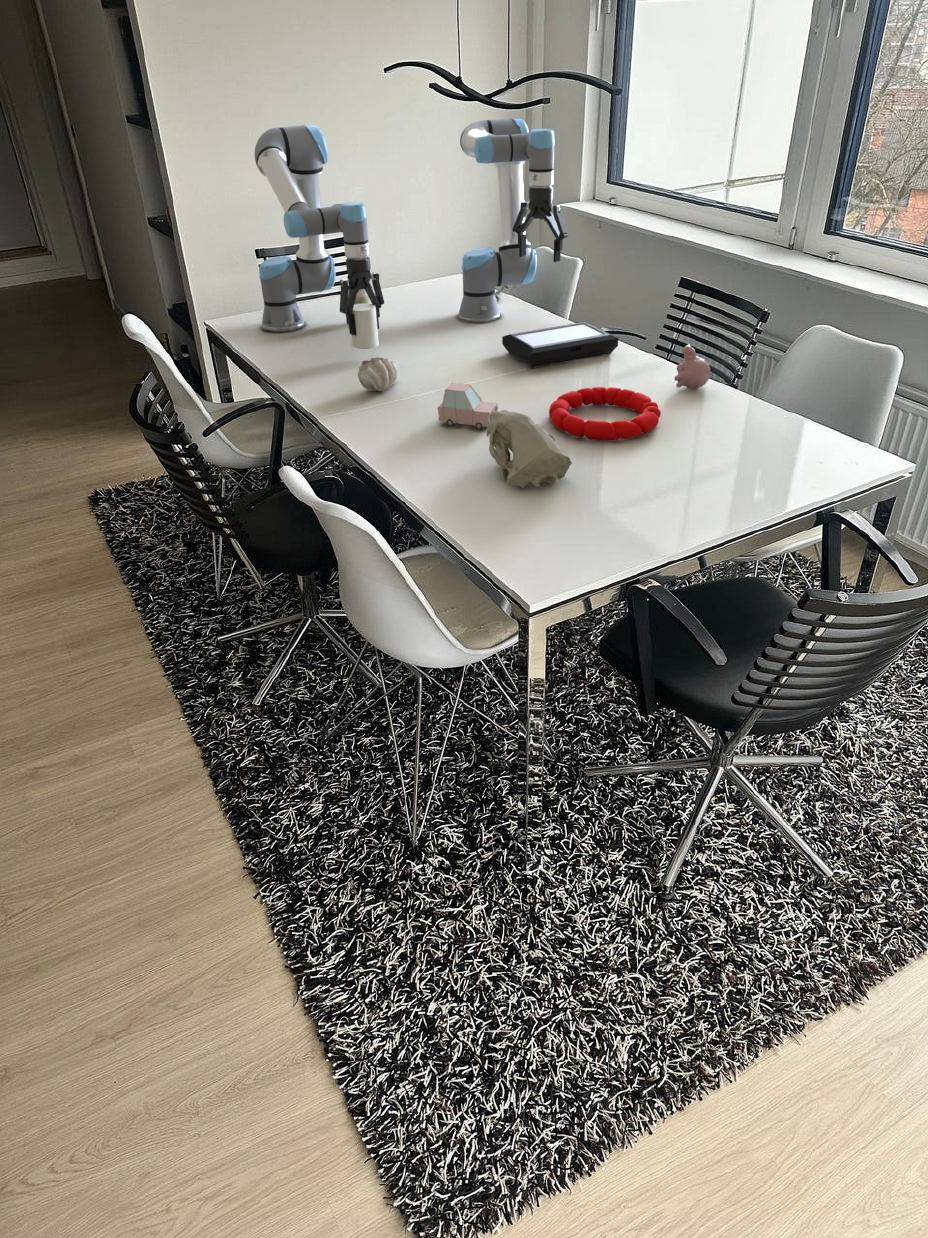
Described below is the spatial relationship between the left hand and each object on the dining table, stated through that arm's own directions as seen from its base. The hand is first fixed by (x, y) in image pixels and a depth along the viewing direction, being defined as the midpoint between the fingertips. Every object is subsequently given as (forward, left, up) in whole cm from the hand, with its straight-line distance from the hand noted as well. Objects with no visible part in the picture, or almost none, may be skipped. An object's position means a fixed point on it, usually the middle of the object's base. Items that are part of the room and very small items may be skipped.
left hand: (364, 331), depth 288 cm
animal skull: (+95, +30, -9) cm, 100 cm away
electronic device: (+11, +62, -9) cm, 64 cm away
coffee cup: (-41, +1, -9) cm, 42 cm away
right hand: (-2, +58, +18) cm, 61 cm away
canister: (0, 0, -5) cm, 5 cm away
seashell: (+30, +1, -9) cm, 32 cm away
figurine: (+52, +91, -9) cm, 105 cm away
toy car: (+62, +23, -9) cm, 67 cm away
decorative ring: (+70, +59, -9) cm, 92 cm away
